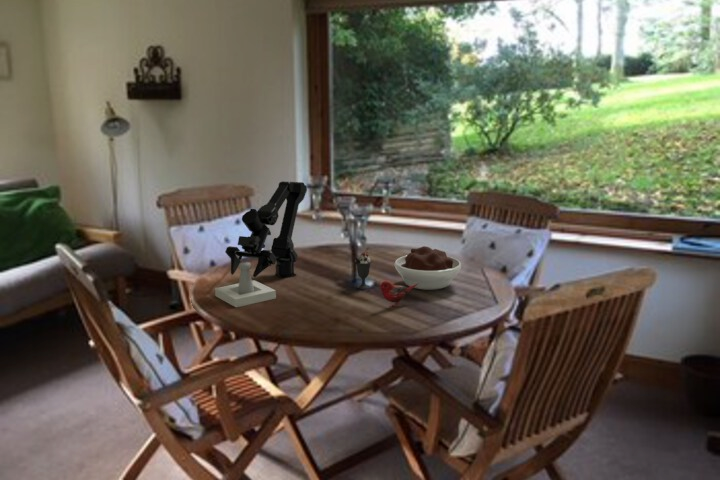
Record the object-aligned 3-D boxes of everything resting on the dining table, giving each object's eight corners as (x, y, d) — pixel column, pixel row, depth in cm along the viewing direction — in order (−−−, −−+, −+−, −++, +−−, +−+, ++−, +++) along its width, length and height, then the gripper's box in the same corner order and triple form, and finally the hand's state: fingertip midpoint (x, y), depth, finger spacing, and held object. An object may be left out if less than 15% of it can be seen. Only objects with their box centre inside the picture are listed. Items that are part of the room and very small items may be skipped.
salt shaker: (243, 300, 231) (242, 265, 228) (235, 297, 235) (233, 262, 232) (257, 297, 235) (256, 262, 232) (248, 293, 239) (247, 259, 236)
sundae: (374, 285, 248) (374, 247, 245) (368, 290, 242) (368, 251, 239) (358, 283, 250) (358, 246, 247) (352, 288, 244) (352, 250, 241)
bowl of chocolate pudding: (473, 285, 248) (474, 247, 244) (433, 301, 230) (434, 260, 227) (421, 273, 265) (422, 237, 261) (381, 286, 247) (381, 248, 243)
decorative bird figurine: (376, 309, 222) (376, 281, 220) (415, 299, 232) (415, 272, 230) (382, 311, 220) (382, 283, 217) (420, 301, 230) (421, 274, 228)
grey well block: (254, 287, 246) (254, 280, 245) (276, 298, 233) (275, 290, 233) (215, 296, 236) (215, 288, 236) (235, 307, 224) (235, 299, 223)
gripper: (226, 224, 236) (210, 261, 229) (271, 228, 229) (256, 266, 222) (239, 241, 245) (224, 276, 238) (282, 245, 238) (268, 282, 231)
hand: (242, 275), depth 232 cm, fingers open, 9 cm apart
